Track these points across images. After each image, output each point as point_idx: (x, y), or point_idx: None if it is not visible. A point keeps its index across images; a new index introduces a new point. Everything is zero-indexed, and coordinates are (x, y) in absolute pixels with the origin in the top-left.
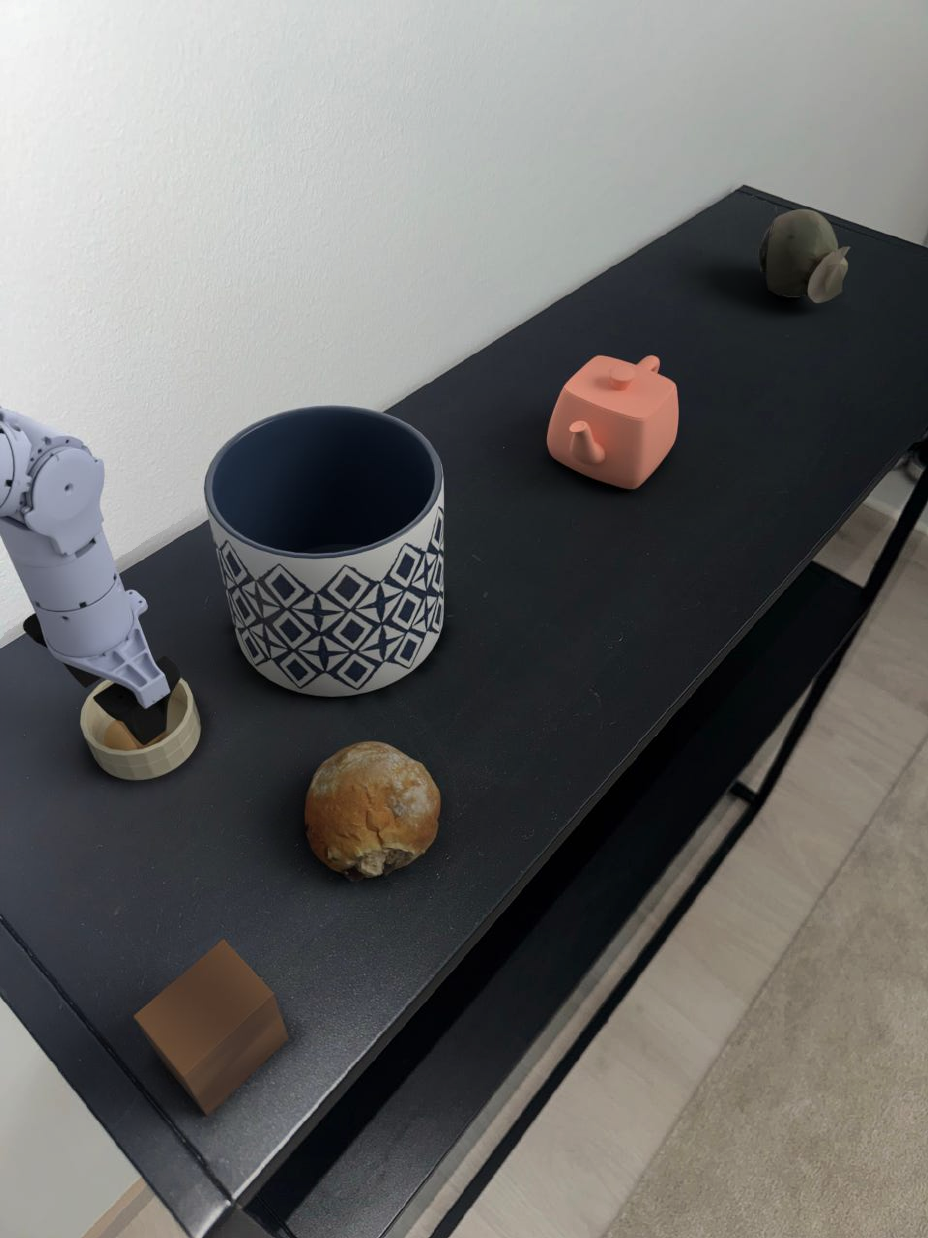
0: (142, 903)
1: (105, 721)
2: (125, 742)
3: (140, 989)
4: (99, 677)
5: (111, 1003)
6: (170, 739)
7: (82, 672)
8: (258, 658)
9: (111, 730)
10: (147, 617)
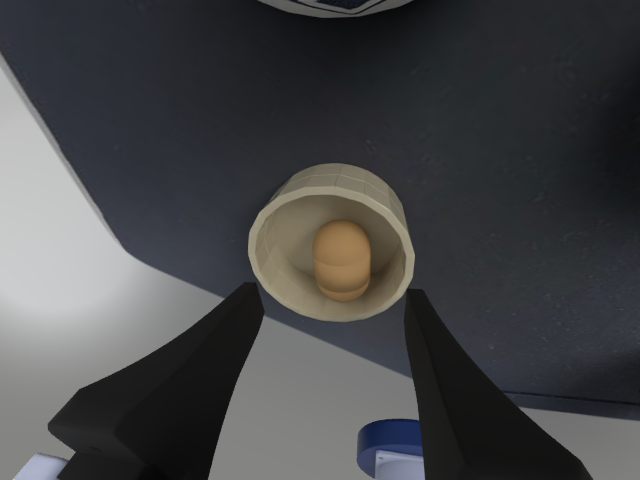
0: (509, 333)
1: (287, 254)
2: (361, 293)
3: (571, 370)
4: (258, 296)
5: (553, 383)
6: (413, 265)
7: (250, 334)
8: (373, 1)
9: (335, 298)
10: (134, 115)
